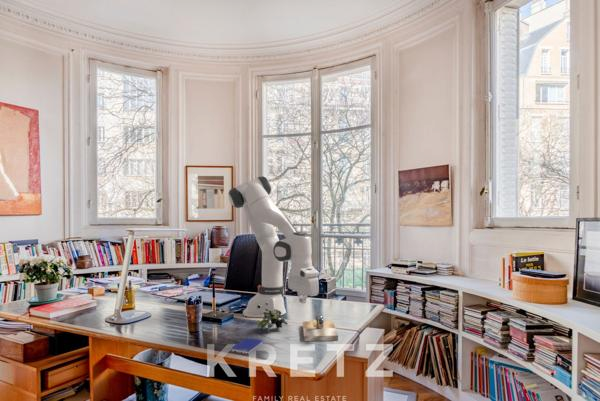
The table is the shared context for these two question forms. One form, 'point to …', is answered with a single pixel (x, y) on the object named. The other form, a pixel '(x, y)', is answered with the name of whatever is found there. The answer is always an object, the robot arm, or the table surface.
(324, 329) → the door board
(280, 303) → the robot arm
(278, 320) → the green leafy plant
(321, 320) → the lock bar
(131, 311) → the table surface
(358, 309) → the table surface
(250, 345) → the hard drive
